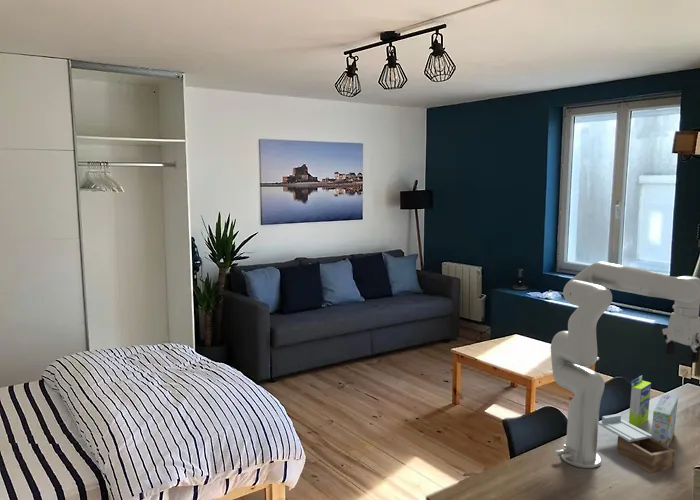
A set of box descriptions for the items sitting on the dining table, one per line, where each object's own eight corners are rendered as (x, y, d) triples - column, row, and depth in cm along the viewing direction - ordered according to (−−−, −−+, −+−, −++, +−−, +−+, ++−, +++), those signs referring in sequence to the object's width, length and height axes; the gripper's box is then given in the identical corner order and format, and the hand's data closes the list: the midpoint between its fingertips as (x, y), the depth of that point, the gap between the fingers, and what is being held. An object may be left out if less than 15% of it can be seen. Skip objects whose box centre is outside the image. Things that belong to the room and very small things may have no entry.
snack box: (666, 457, 189) (670, 415, 187) (648, 452, 192) (651, 410, 190) (675, 434, 205) (678, 395, 203) (658, 430, 209) (661, 391, 207)
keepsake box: (650, 473, 178) (651, 455, 177) (616, 452, 191) (617, 436, 190) (673, 468, 181) (675, 450, 181) (639, 448, 194) (640, 432, 194)
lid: (629, 442, 186) (630, 434, 185) (598, 424, 199) (598, 417, 198) (652, 437, 189) (653, 429, 189) (620, 420, 202) (620, 413, 202)
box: (638, 427, 210) (642, 384, 208) (627, 424, 213) (630, 381, 211) (649, 419, 217) (652, 377, 215) (638, 416, 220) (641, 374, 218)
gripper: (657, 306, 202) (653, 351, 205) (700, 318, 186) (696, 366, 188) (673, 305, 205) (669, 349, 207) (717, 316, 189) (712, 364, 191)
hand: (682, 357), depth 198 cm, fingers open, 9 cm apart
